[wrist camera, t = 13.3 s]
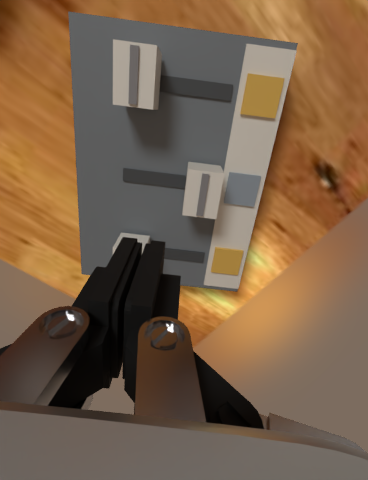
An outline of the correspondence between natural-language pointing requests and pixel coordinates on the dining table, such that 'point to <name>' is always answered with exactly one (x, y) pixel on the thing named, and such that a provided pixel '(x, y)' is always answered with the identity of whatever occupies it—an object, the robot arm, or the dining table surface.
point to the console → (175, 143)
